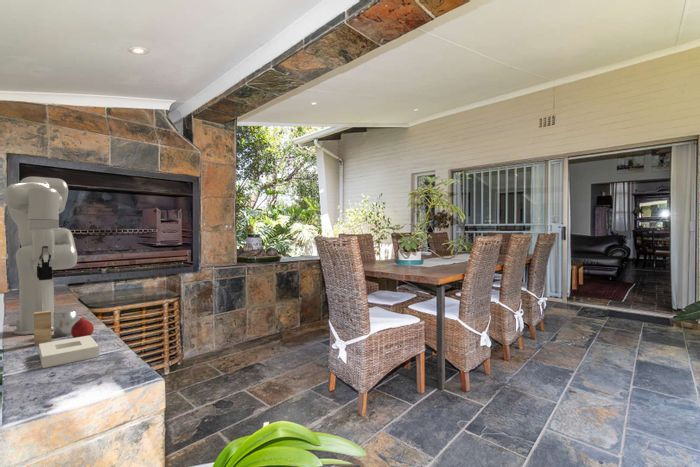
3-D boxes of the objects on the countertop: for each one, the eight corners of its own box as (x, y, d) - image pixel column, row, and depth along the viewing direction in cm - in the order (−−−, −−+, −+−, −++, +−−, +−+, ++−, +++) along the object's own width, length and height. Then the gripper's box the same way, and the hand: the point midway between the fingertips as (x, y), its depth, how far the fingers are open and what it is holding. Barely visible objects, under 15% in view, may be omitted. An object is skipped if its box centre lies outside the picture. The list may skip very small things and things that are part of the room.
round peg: (48, 337, 119) (48, 314, 119) (62, 332, 126) (62, 310, 126) (69, 336, 120) (69, 313, 120) (82, 331, 127) (81, 309, 127)
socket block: (39, 354, 102) (39, 343, 102) (90, 344, 110) (89, 335, 110) (42, 368, 90) (42, 356, 90) (98, 356, 99) (98, 345, 99)
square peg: (34, 343, 113) (33, 312, 113) (50, 340, 116) (50, 310, 116) (34, 346, 110) (34, 314, 110) (51, 343, 113) (51, 312, 113)
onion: (84, 344, 111) (83, 318, 111) (66, 344, 111) (66, 319, 111) (97, 338, 117) (97, 314, 117) (80, 339, 117) (80, 315, 117)
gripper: (27, 226, 117) (27, 277, 117) (29, 224, 104) (29, 282, 104) (56, 226, 122) (57, 275, 122) (61, 225, 110) (62, 279, 109)
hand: (44, 278), depth 113 cm, fingers open, 9 cm apart
